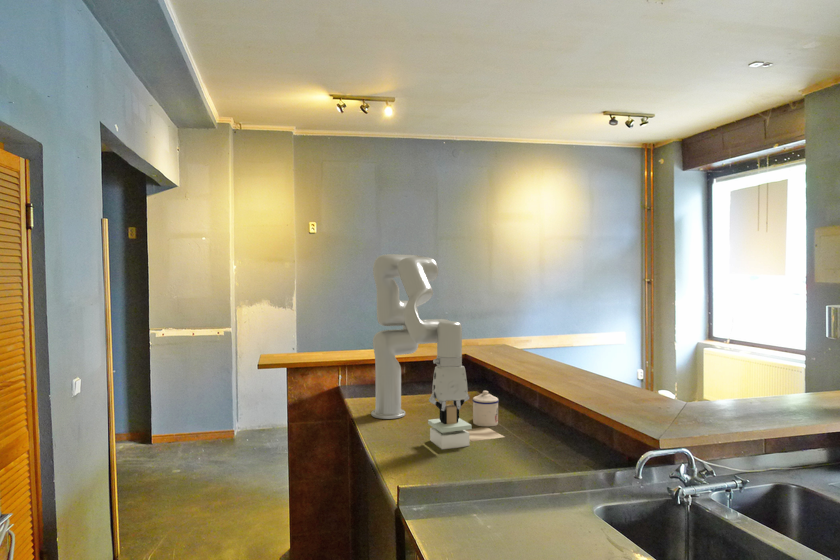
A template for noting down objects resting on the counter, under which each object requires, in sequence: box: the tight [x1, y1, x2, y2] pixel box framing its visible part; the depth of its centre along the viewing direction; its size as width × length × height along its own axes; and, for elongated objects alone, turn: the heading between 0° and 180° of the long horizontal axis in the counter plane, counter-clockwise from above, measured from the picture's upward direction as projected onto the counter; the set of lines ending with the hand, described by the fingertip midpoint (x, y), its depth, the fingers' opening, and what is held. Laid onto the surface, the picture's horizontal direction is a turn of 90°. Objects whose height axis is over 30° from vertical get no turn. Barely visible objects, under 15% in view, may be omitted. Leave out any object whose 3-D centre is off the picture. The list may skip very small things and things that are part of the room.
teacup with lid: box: [472, 390, 499, 427], centre depth 181 cm, size 12×9×12 cm
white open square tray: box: [429, 427, 470, 450], centre depth 157 cm, size 9×9×4 cm
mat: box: [466, 426, 505, 442], centre depth 166 cm, size 12×12×1 cm
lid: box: [427, 403, 473, 433], centre depth 157 cm, size 10×10×6 cm
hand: (449, 421), depth 157 cm, fingers closed on lid, 3 cm apart
